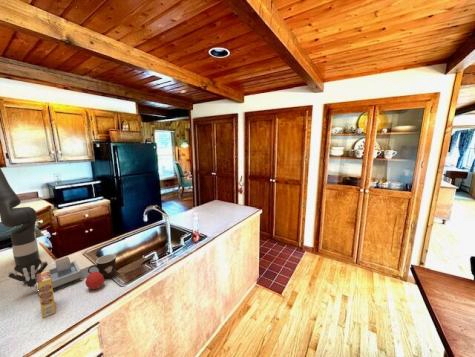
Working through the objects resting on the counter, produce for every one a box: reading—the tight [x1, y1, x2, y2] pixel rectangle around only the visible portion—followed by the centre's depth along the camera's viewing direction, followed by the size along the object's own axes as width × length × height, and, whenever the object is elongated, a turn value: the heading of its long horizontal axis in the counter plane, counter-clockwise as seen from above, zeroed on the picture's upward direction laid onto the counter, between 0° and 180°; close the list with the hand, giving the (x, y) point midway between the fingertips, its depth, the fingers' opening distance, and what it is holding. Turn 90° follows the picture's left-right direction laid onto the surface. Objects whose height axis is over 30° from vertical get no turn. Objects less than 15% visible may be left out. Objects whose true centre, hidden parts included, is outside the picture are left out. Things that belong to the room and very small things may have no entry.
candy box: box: [36, 269, 56, 319], centre depth 81 cm, size 9×4×15 cm, turn 47°
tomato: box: [84, 272, 105, 290], centre depth 95 cm, size 8×8×8 cm
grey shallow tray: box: [43, 260, 81, 288], centre depth 98 cm, size 14×14×8 cm
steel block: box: [55, 256, 72, 278], centre depth 99 cm, size 5×5×8 cm
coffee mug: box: [88, 253, 117, 281], centre depth 102 cm, size 12×9×10 cm
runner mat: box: [36, 263, 99, 298], centre depth 102 cm, size 11×26×1 cm, turn 138°
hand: (32, 286), depth 91 cm, fingers closed
